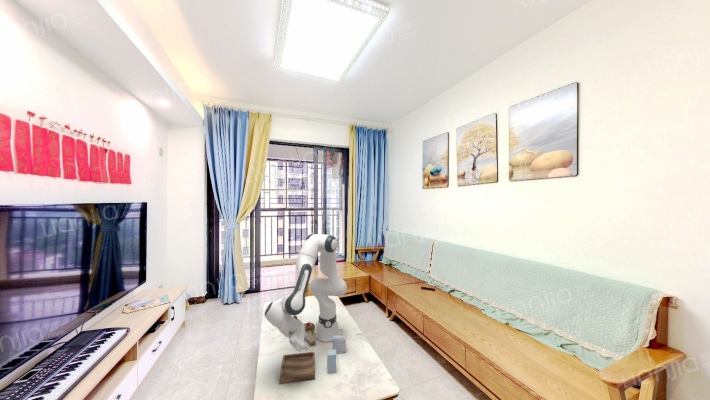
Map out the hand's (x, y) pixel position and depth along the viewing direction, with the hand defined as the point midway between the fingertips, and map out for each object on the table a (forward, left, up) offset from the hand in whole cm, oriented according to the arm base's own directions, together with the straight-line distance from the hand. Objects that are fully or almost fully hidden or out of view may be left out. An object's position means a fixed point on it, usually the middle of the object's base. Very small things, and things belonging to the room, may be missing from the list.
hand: (308, 343), depth 125 cm
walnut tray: (-4, -6, -16) cm, 18 cm away
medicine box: (-15, +18, -16) cm, 29 cm away
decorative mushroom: (-29, 0, -16) cm, 33 cm away
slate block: (0, +12, -16) cm, 20 cm away
